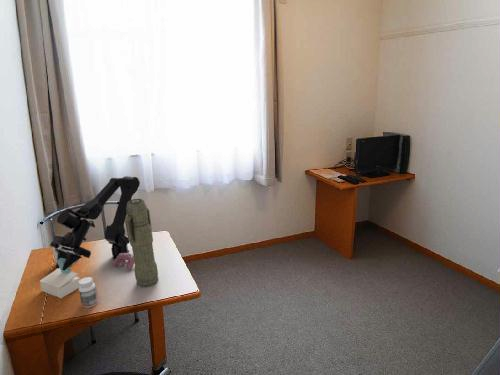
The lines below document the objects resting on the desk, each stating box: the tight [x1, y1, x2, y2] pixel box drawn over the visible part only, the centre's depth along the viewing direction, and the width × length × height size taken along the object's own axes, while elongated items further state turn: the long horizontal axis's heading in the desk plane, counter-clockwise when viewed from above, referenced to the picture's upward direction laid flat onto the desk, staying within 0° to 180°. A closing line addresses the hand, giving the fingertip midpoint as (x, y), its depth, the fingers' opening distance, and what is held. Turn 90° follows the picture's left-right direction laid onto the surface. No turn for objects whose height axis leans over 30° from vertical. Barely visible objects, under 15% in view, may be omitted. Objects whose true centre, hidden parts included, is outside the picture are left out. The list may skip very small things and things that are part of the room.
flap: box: [39, 258, 79, 289], centre depth 139 cm, size 9×12×7 cm
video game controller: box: [112, 252, 135, 272], centre depth 157 cm, size 10×5×7 cm, turn 66°
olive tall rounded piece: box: [124, 198, 159, 288], centre depth 139 cm, size 9×12×35 cm
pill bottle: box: [78, 276, 99, 309], centre depth 130 cm, size 6×6×10 cm
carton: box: [39, 276, 81, 299], centre depth 142 cm, size 9×12×4 cm
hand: (60, 269), depth 141 cm, fingers closed on flap, 3 cm apart
